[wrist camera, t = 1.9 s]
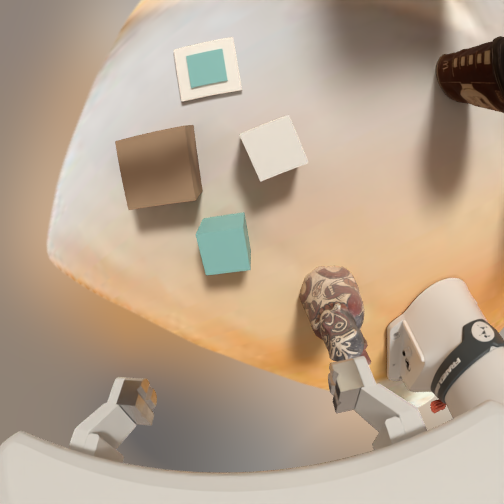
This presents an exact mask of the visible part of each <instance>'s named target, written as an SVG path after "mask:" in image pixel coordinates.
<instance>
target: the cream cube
mask: <svg viewBox="0 0 504 504" xmlns="http://www.w3.org/2000/svg"><path fill="white" fill-rule="evenodd" d="M239 135H240V138H241V140H242V142H243V144H244V146H245V149H246V151H247V153H248V155H249V157H250V160H251V162H252V164H253V166H254V168H255V171H256V173H257V175H258V177H259V180H260V182H261V181H263V180H266V179H268V178H271V177H273V176H276V175H278V174H281V173H283V172H286V171H289V170H291V169H294V168H296V167H299V166H302V165H304V164H307V163H308V160H307V158H306V155H305V152H304V150H303V147H302V145H301V142H300V140H299V138H298V135H297V133H296V130H295V128H294V126H293V123H292V121H291V119H290V116H289V115H287V116H283V117H280V118H278V119H275V120H272V121H270V122H267V123H265V124H262V125H260V126H257V127H255V128H252V129H250V130H247V131H245V132H243V133H241V134H239Z"/></svg>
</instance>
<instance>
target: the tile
mask: <svg viewBox="0 0 504 504" xmlns="http://www.w3.org/2000/svg"><path fill="white" fill-rule="evenodd" d="M174 57H175V63H176V70H177V76H178V83H179V89H180V95H181V101H182V102H185V101H189V100H193V99H198V98H202V97H207V96H212V95H217V94H223V93H229V92H235V91H241V90H242V87H241V81H240V75H239V69H238V63H237V57H236V51H235V45H234V40H233V37H230V38H224V39H218V40H213V41H208V42H203V43H199V44H194V45H190V46H186V47H182V48H178V49H175V50H174Z"/></svg>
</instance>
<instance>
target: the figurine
mask: <svg viewBox="0 0 504 504" xmlns="http://www.w3.org/2000/svg"><path fill="white" fill-rule="evenodd" d="M300 299H301V302H302V304H303V307H304V309H305V311H306V313H307V316H308V318H309V320H310V323H311V327H312V329H313V331H314V333H315V334H316V336H318V337H319V338H321V339H322V340H324V343H325V345H326V347H327V349H328V351H329V356H330V359H331V360H334V361H341V360H346V359H350V358H356V357H360V356H364V357H365V358H366V360H367V363H368V365H370V364H371V360H370V358H369V356H368V354H367V352H366V350H365V349H366V347H367V346H368V345H367V341H366V340H365V338H364V337H363V335H362V333H361V330H360V328H361V326H362V324H363V320H364V305H363V301H362V298H361V295H360V292H359V288H358V285H357V283H356V281H355V279H354V277H353V275H352V274H351V273H350V272H349V271H348V270H347V269H346V268H344V267H338V266H328V267H324V266H320V267H317V268H315V269H314V270H313V271H312V272H311V273H309V274H308V275H307V276H306V277H305V279H304V282H303V284H302V288H301V293H300Z"/></svg>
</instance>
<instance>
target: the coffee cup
mask: <svg viewBox="0 0 504 504" xmlns="http://www.w3.org/2000/svg"><path fill="white" fill-rule="evenodd" d="M436 72H437V78H438V82H439V84H440V86H441V88H442V89H443V91H444V92H445V94H446V95H447V96H448V97H449V98H451V99H452V100H455V101H457V102H462V103H469V104H472V105H474V106H478V107H483V108H487V109H491V110H495V111H499V112H503V113H504V37H501V36H500V37H497V38H495V39H494V40H493V41H492V42H488V43H484V44H481V45H479V46H476V47H472V48H469V49H463V50H461V51H459V52H456V53H451V54H444V55H442V56H441V57H440V59H439V61H438V63H437V68H436Z"/></svg>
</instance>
